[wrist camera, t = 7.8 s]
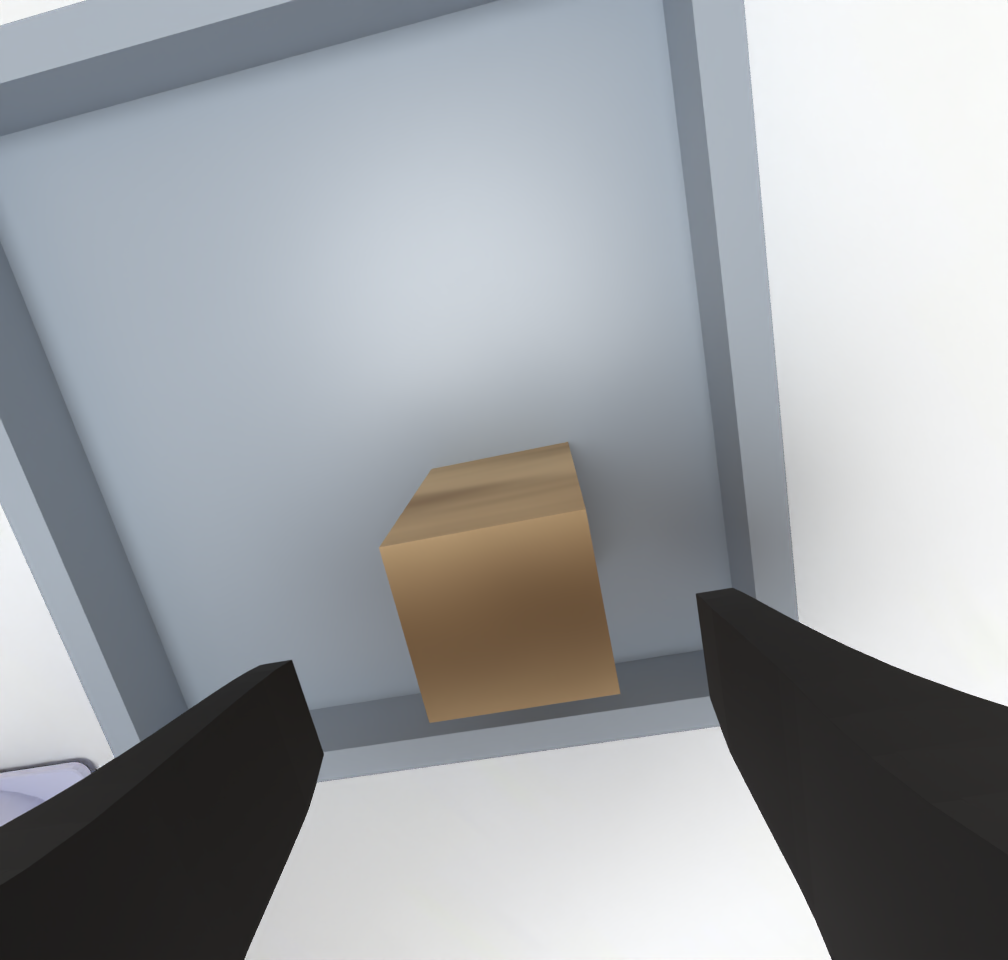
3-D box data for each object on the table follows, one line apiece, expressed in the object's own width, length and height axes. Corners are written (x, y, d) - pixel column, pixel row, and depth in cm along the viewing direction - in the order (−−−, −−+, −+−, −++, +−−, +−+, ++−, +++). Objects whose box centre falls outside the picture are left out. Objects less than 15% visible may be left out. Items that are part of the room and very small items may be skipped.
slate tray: (765, 653, 19) (806, 714, 16) (191, 740, 21) (137, 807, 18) (687, -85, 14) (727, -189, 11) (-60, 123, 16) (-190, 81, 13)
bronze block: (592, 570, 18) (620, 694, 12) (462, 592, 18) (429, 723, 12) (568, 441, 17) (585, 509, 11) (431, 468, 17) (379, 547, 11)
